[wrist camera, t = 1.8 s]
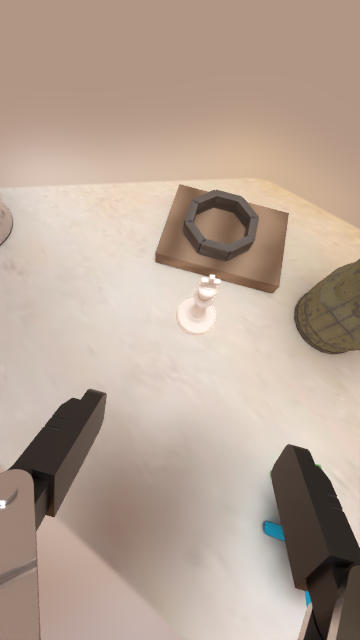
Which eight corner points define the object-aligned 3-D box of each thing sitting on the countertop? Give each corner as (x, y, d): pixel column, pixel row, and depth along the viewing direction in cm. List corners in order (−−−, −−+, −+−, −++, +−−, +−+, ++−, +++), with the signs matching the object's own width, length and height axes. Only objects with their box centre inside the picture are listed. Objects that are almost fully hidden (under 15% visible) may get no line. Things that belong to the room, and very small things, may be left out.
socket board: (155, 261, 32) (155, 243, 28) (178, 195, 36) (180, 171, 32) (272, 293, 32) (287, 278, 28) (281, 223, 36) (296, 202, 32)
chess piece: (177, 296, 31) (185, 249, 21) (215, 300, 31) (240, 255, 22) (174, 333, 29) (182, 300, 20) (215, 337, 29) (241, 306, 20)
